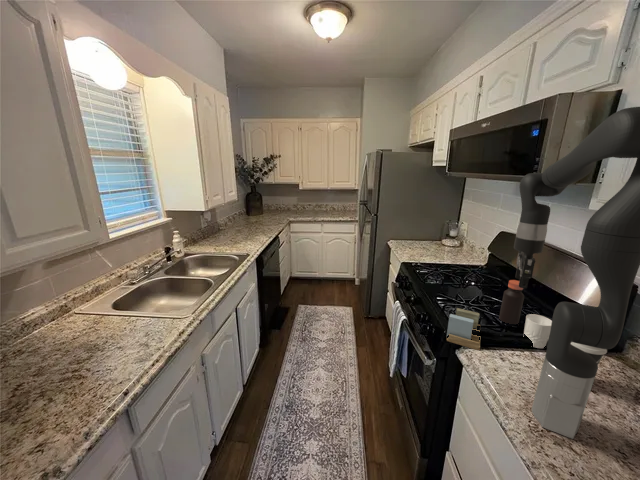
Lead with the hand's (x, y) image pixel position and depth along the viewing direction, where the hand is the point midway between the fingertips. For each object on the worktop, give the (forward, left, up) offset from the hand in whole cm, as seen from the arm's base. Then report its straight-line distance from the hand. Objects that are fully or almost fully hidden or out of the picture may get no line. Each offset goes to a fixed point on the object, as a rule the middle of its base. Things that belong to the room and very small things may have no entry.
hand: (520, 283), depth 89 cm
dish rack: (+1, +14, -27) cm, 30 cm away
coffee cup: (-6, -17, -27) cm, 32 cm away
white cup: (+10, -9, -27) cm, 30 cm away
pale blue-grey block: (-3, +16, -26) cm, 31 cm away
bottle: (+18, -1, -27) cm, 33 cm away
